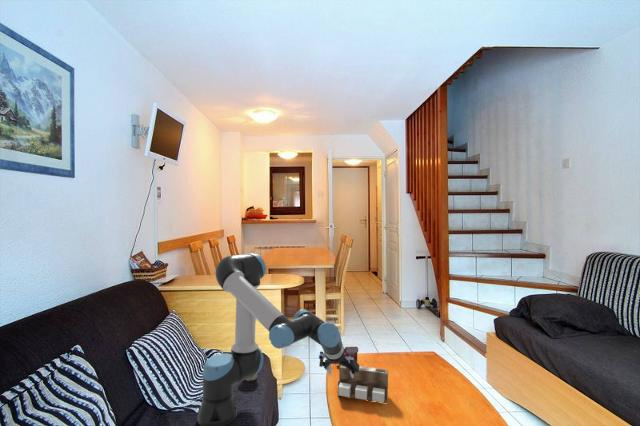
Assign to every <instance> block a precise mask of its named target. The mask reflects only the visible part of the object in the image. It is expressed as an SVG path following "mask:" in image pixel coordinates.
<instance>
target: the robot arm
mask: <svg viewBox="0 0 640 426" xmlns="http://www.w3.org/2000/svg"><path fill="white" fill-rule="evenodd" d="M266 273H267V266H266V262H265V260H264V259H263V258H262V256H261V255H259V254H258V253H243V254H235V255H227V256H225V257H223V258H222V259H220V260H219V262H218V264H217V265H216V268H215V273H214V275H215V278H216V281H217V284H218V285H219V287H220V288H221V289H222V290H223V291H224V292H226V293H230V294H231V295H232V296H233V297H234V298H235V334H234V335H235V336H234V337H235V338H234V343H233V345H232V346H231V349H230V353H220V354H215V355H213V356H211V357H209V358H208V359H207V360H206V361H205V363H204V364H203V371H202V402H201V404H200V408H199V410H198V413H197V423H198V425H199V426H229V425H230V424H231V423H233V422H234V421H235V420H236V418H237V415H238V409H237V405H236V402H235V398H234V393H233V392H234V386H236V385H238V384H240V383H241V382H243V381H244V380H245V379H247V378H249V377H252V376H254V375H255V374H256V373H257V374H258V373H259V372H260V371H261V369H262V367H263V366H264V355H263V353H262V349H261V348H260V347H259V344H258V343H257V342H256V321H258V322H259V324H261V325H262V327H264V328H265V329H266V330H267V331H268V332H269V333H268V340H269V341H270V344H271V345H272V346H273V347H274V348H276V349H278V350H279V349H284V348H286V347H289V346H292V345H293V344H294V343H297V342H299V341H301V340H304V339H305V338H310V339H311V340H312V341H314V342H316V343H317V344H319V345H320V346H321V347H322V350H323V351H320V352H319V355H318V359H319V365H318V366H319V367H320V368H324V370H325V371H327V373H328V376H331V375H332V365H339V364H341V365H342V366H345V367H346V368H348V369H349V370H350V374H351V378H353V377H354V374H355V373H356V372H359V366H360V364H359V363H358V361H357V362H356V360H355V359H354V356H353V355H351V356H350V357H347V355H346V354H345V351H344V349H345V347H344V344H343V342H342V338H341V332H340V330H339V328H338V326H337V325H336V324H335V323H334V322H328V321H327V322H326V321H324V320H323V319H321V318H320V317H318V316H317V315H316V314H314V313H313V312H311V311H309V310H307V309H305V308H301V309H299V310H298V311H296V313H295V314H294V316H293V318H292V319H289V318H288V317H287V316H286V315H284V314H283V313H282V311H280V310H279V309H278V308H277V307H276V306H275V305H274V304H273V303H271V301H269V299H268V298H266V297H265V296H264V295H263V294H262V293H261V292H260V291H259V290H258V288H259V287H260V286H261V279H263V277H264V276H265V275H266ZM245 381H246V380H245Z"/></svg>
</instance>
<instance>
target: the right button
mask: <svg viewBox="0 0 640 426" xmlns="http://www.w3.org/2000/svg"><path fill="white" fill-rule="evenodd" d="M384 399H385V389H380V388H373V392H372V401H376V402H382V403H384Z"/></svg>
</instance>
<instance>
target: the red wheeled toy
mask: <svg viewBox="0 0 640 426" xmlns="http://www.w3.org/2000/svg"><path fill="white" fill-rule="evenodd" d="M344 351H345V355H347V357H350V356H351V355H353V356H354V359H355V360H356V362H357V363H358V352H359V348H358V346H345V347H344ZM338 365H339V366H340V365H341V364H338Z"/></svg>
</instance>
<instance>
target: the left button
mask: <svg viewBox="0 0 640 426" xmlns="http://www.w3.org/2000/svg"><path fill="white" fill-rule="evenodd" d="M350 394H351V384H347V383H341V382H340V384H339V387H338V386H337V396H338V395H339V396H345V397H350ZM339 396H338V397H339ZM345 397H344V398H345Z"/></svg>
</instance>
